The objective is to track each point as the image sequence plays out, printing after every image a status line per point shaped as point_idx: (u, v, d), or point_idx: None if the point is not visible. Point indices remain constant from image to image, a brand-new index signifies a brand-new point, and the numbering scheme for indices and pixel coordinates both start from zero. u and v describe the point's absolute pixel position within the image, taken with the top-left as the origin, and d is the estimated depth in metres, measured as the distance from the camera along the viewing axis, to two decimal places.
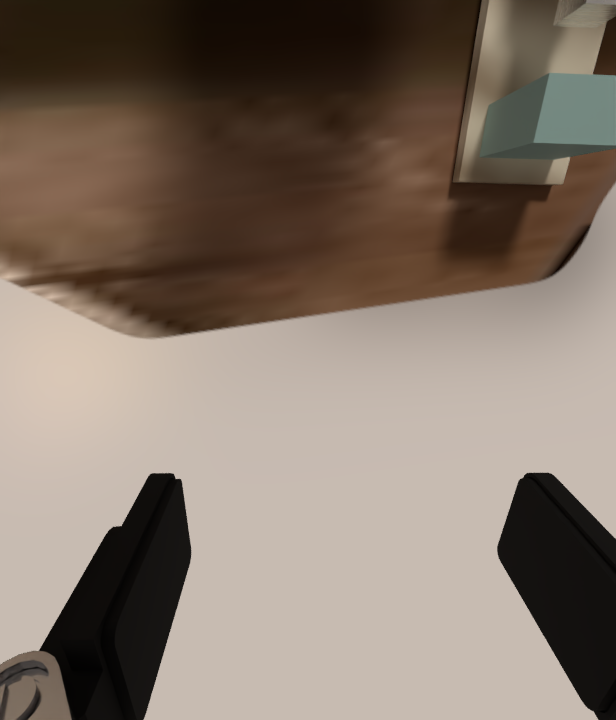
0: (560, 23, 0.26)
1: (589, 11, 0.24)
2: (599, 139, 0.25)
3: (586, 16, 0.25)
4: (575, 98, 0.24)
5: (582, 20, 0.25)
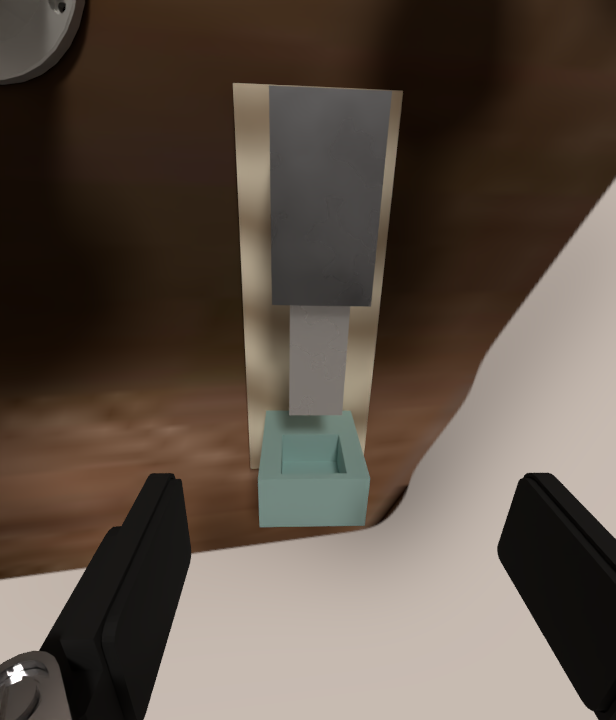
0: None
1: None
2: (330, 522, 0.24)
3: None
4: (293, 495, 0.23)
5: None
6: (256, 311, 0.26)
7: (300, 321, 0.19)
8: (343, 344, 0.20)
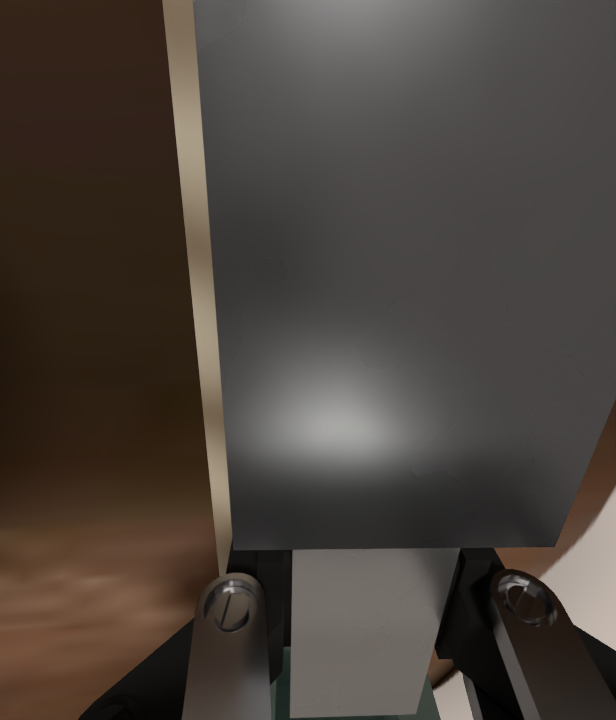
0: None
1: None
2: None
3: None
4: None
5: None
6: None
7: None
8: (437, 593, 0.07)
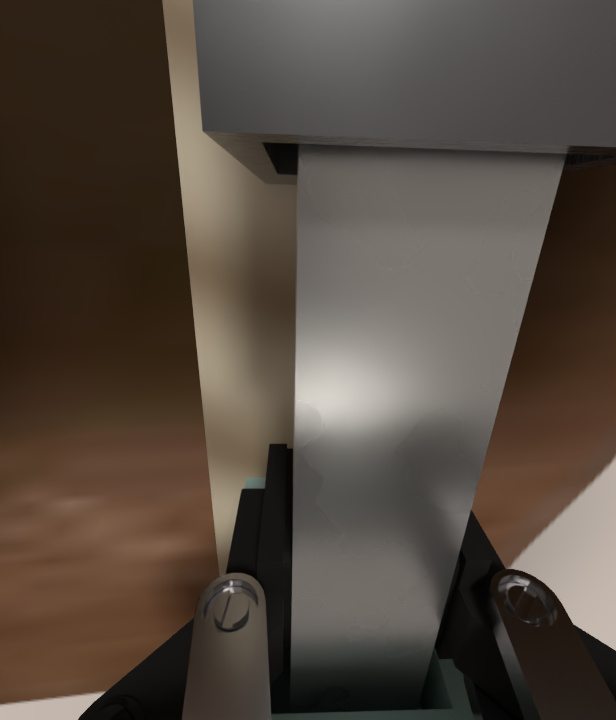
0: None
1: None
2: None
3: None
4: None
5: None
6: (219, 271, 0.12)
7: (324, 548, 0.07)
8: (437, 593, 0.07)
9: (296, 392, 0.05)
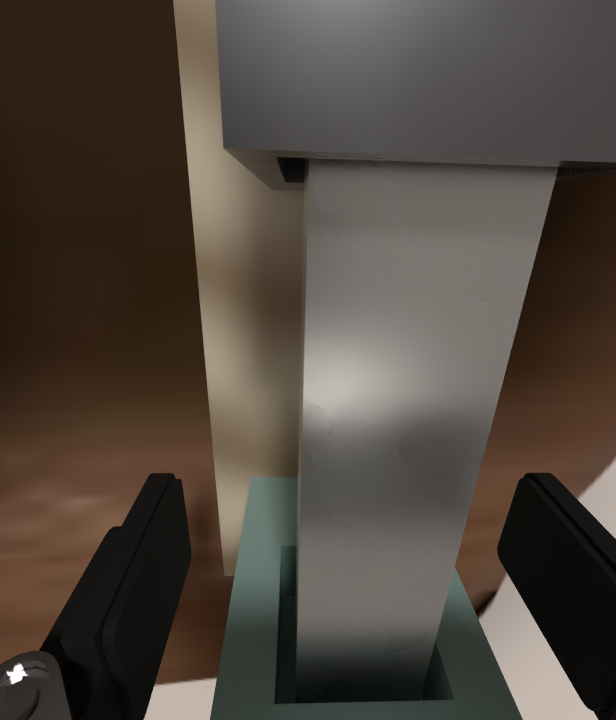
0: None
1: None
2: None
3: None
4: None
5: None
6: (226, 275, 0.12)
7: (329, 544, 0.07)
8: (438, 589, 0.08)
9: (304, 394, 0.06)
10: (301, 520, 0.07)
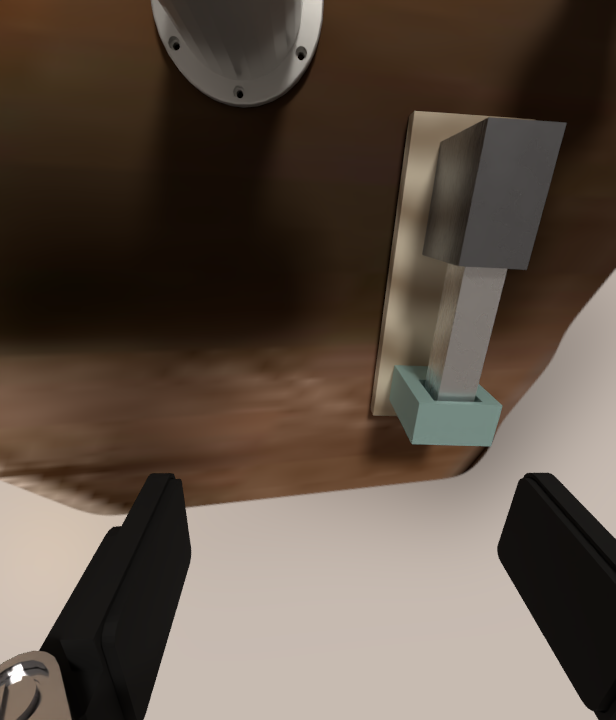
0: None
1: None
2: (465, 442, 0.31)
3: None
4: (442, 418, 0.30)
5: None
6: (401, 282, 0.34)
7: (455, 349, 0.29)
8: (480, 365, 0.30)
9: (456, 308, 0.28)
10: (449, 342, 0.29)
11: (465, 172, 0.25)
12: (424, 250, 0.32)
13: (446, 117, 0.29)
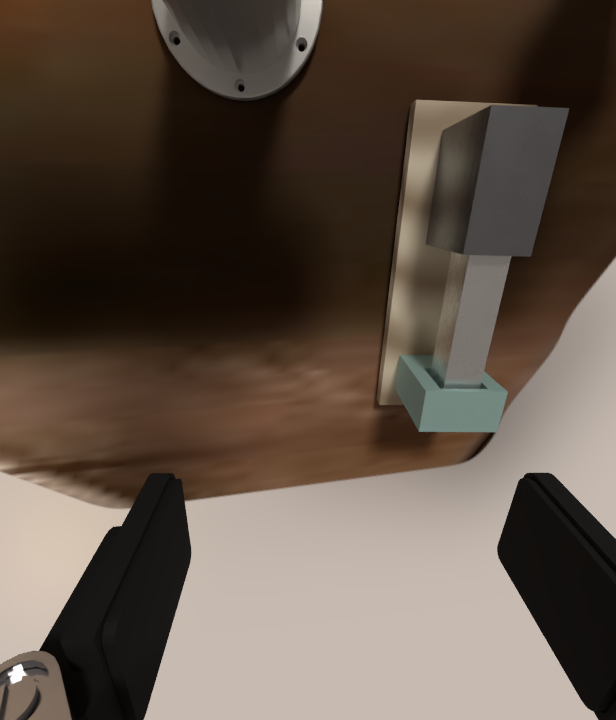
0: None
1: None
2: (472, 428, 0.32)
3: None
4: (449, 405, 0.31)
5: None
6: (405, 272, 0.34)
7: (460, 337, 0.29)
8: (485, 353, 0.30)
9: (461, 297, 0.28)
10: (455, 330, 0.29)
11: (468, 160, 0.25)
12: (427, 239, 0.33)
13: (448, 105, 0.29)
